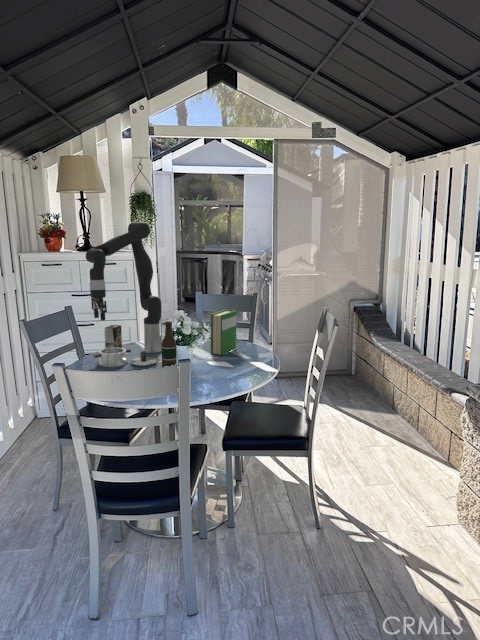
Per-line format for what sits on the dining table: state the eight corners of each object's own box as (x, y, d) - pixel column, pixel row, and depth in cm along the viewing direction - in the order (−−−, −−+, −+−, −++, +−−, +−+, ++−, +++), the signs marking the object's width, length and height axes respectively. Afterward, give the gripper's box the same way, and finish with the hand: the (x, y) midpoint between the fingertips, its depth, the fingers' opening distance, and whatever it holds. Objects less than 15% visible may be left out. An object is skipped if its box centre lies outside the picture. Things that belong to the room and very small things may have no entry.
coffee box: (115, 356, 261) (114, 328, 258) (105, 355, 262) (103, 327, 259) (122, 352, 270) (121, 325, 267) (112, 351, 271) (111, 324, 268)
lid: (148, 358, 257) (148, 347, 256) (161, 364, 247) (161, 352, 246) (126, 363, 248) (125, 351, 247) (138, 369, 238) (137, 356, 237)
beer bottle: (179, 365, 244) (179, 321, 240) (170, 369, 238) (169, 323, 233) (168, 363, 248) (167, 319, 243) (158, 367, 241) (157, 322, 237)
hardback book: (221, 356, 264) (222, 315, 259) (210, 354, 267) (210, 314, 263) (235, 349, 279) (236, 310, 275) (225, 348, 283) (225, 309, 278)
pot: (124, 357, 258) (124, 345, 257) (136, 363, 248) (135, 350, 247) (89, 363, 246) (88, 350, 244) (100, 369, 235) (99, 356, 234)
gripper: (110, 289, 234) (112, 320, 238) (99, 286, 245) (101, 316, 248) (96, 290, 230) (98, 322, 233) (85, 287, 240) (87, 317, 244)
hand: (99, 319), depth 241 cm, fingers open, 8 cm apart
